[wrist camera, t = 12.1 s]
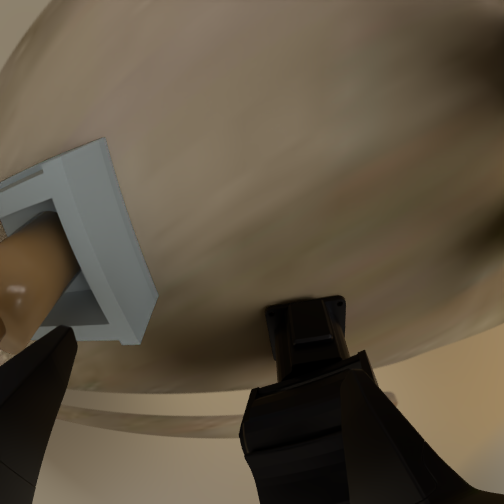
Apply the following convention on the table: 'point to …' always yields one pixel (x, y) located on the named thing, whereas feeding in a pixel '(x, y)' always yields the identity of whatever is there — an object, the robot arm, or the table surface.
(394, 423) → the robot arm
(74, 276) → the amber bottle
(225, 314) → the table surface
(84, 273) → the u rest
